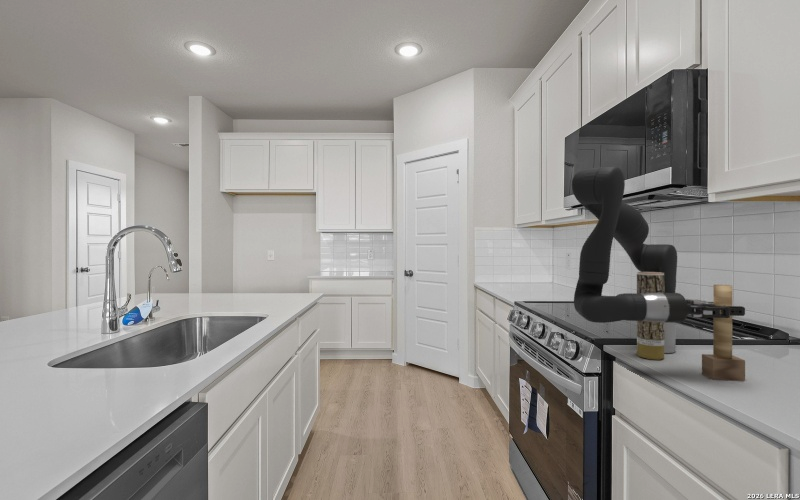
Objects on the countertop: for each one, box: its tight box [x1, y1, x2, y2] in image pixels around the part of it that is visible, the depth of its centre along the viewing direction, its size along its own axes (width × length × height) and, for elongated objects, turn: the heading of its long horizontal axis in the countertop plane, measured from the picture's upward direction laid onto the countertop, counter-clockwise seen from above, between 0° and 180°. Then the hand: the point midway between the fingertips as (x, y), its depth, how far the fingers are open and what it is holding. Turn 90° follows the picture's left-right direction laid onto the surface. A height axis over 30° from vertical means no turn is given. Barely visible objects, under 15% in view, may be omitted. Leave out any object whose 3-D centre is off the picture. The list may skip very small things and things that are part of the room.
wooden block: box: [701, 353, 746, 382], centre depth 95 cm, size 7×4×5 cm, turn 80°
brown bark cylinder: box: [636, 271, 665, 361], centre depth 113 cm, size 7×7×25 cm
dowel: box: [712, 284, 733, 359], centre depth 95 cm, size 4×4×18 cm
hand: (733, 308), depth 95 cm, fingers open, 6 cm apart
